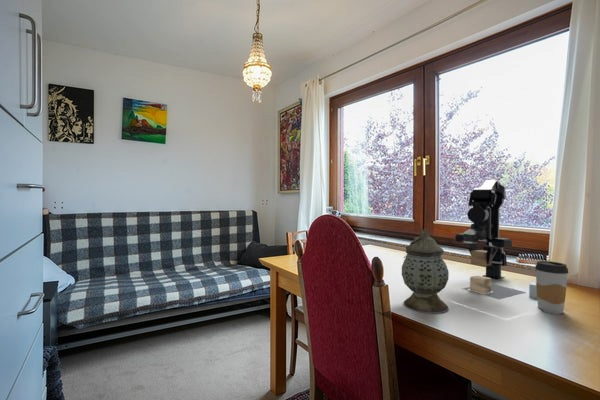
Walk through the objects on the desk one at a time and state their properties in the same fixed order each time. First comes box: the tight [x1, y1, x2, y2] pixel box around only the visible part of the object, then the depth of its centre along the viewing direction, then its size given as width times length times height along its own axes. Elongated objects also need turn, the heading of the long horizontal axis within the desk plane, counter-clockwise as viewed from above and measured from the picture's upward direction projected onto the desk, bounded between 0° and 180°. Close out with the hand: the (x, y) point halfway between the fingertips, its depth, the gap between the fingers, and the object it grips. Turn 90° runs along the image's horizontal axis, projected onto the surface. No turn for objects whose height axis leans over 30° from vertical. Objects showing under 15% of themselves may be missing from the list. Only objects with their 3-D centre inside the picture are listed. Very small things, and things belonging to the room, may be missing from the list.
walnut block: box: [470, 249, 492, 267], centre depth 117 cm, size 5×5×5 cm
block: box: [528, 281, 537, 299], centre depth 111 cm, size 5×5×5 cm
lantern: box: [401, 229, 450, 315], centre depth 101 cm, size 14×14×25 cm
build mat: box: [461, 283, 527, 300], centre depth 118 cm, size 18×14×1 cm
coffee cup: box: [534, 260, 569, 315], centre depth 99 cm, size 8×8×15 cm
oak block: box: [469, 274, 492, 293], centre depth 118 cm, size 5×5×5 cm
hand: (481, 262), depth 117 cm, fingers closed on walnut block, 5 cm apart
